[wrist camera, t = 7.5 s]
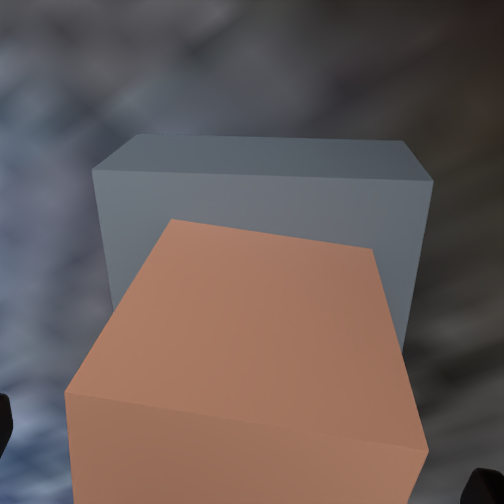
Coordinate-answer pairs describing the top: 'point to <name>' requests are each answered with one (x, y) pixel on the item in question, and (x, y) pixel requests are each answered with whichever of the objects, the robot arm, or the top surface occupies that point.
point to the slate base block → (267, 199)
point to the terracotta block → (246, 379)
